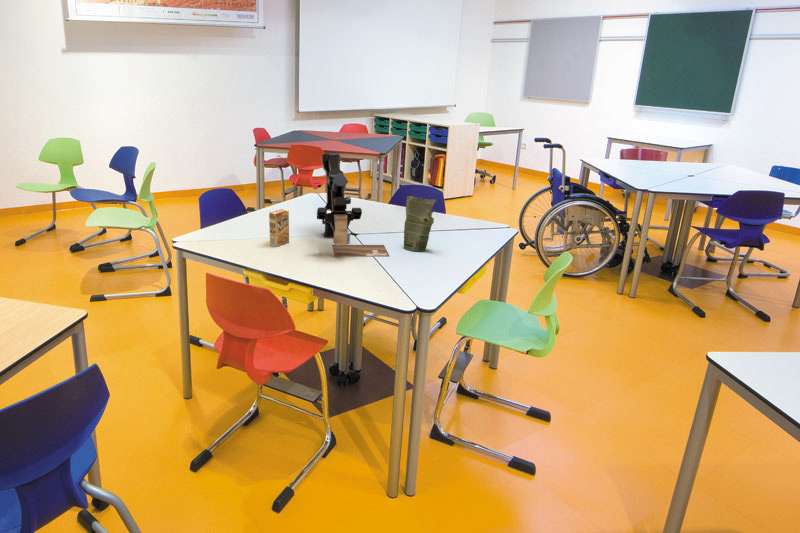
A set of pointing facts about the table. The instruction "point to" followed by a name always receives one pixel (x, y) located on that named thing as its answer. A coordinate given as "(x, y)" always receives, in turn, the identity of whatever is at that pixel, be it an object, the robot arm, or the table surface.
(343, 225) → the oak block
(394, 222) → the table surface
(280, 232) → the candy box
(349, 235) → the slate cube
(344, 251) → the board
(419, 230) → the pouch
